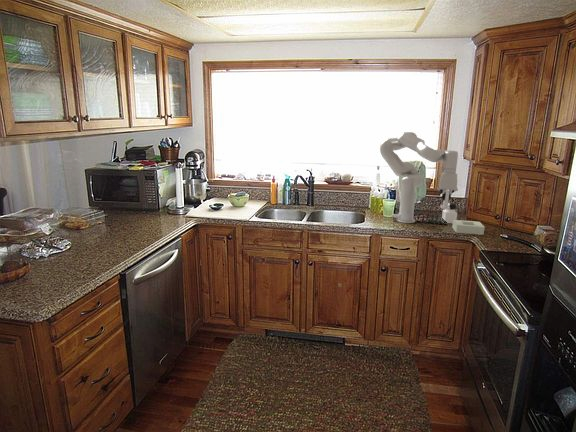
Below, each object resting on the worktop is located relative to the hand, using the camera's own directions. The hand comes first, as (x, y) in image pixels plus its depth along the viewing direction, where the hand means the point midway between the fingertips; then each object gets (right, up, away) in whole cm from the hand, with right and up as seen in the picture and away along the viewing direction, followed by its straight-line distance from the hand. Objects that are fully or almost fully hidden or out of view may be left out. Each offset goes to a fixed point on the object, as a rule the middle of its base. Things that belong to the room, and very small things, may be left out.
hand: (445, 199), depth 251 cm
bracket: (0, -5, +1) cm, 5 cm away
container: (+11, -14, +22) cm, 29 cm away
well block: (+14, -20, +2) cm, 24 cm away
